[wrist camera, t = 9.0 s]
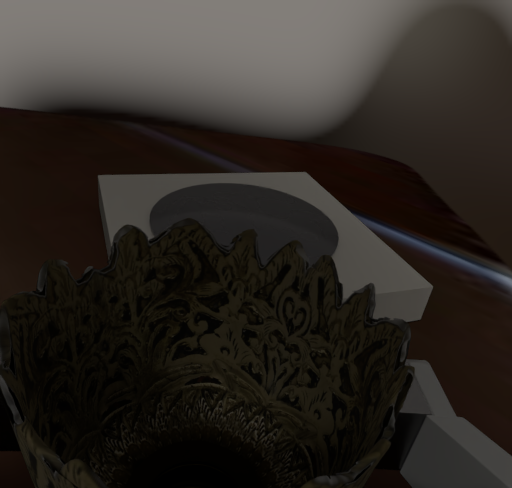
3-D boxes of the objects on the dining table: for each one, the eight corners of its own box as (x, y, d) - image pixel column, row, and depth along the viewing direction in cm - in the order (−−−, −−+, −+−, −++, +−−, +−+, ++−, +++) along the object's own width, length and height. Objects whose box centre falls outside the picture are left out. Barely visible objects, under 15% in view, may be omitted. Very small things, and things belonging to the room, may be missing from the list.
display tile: (99, 205, 29) (97, 171, 28) (300, 197, 34) (306, 169, 33) (126, 366, 18) (126, 322, 17) (420, 319, 23) (434, 283, 22)
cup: (205, 864, 8) (279, 657, 4) (-28, 572, 11) (-106, 308, 7) (367, 523, 14) (461, 304, 10) (181, 395, 17) (197, 194, 13)
